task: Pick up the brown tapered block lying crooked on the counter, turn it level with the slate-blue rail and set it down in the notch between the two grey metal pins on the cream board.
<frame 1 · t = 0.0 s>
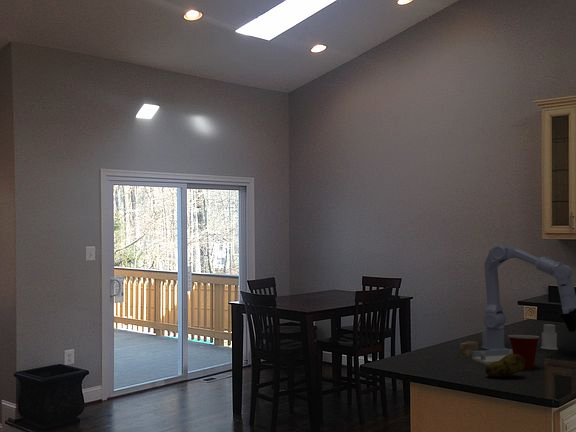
hand: (574, 330, 249), 11 cm above the kitchen counter, tool pointing down, fingers open, 7 cm apart
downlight: (549, 349, 268), on the kitchen counter
board: (500, 360, 246), on the kitchen counter
plastic cup: (524, 368, 231), on the kitchen counter
brown tapered block: (469, 356, 255), on the kitchen counter
potato: (505, 377, 218), on the kitchen counter
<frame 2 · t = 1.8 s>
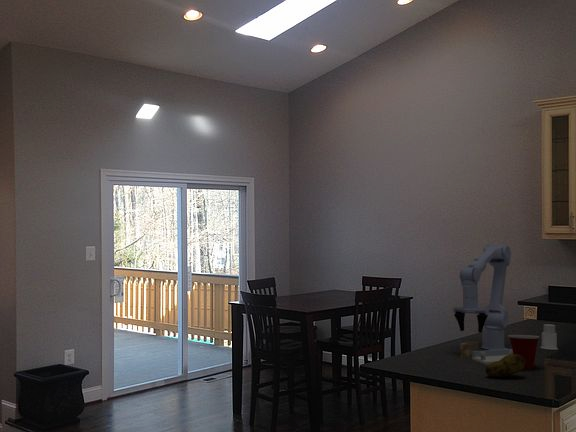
hand: (471, 331, 254), 10 cm above the kitchen counter, tool pointing down, fingers open, 7 cm apart
nothing on the kitchen counter moved.
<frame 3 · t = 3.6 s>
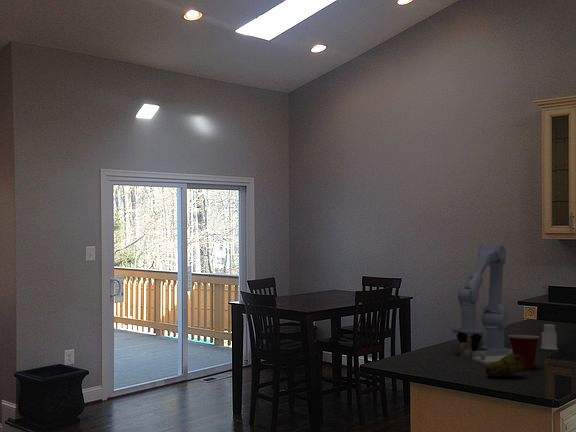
hand: (469, 352, 255), 1 cm above the kitchen counter, tool pointing down, fingers closed on brown tapered block, 4 cm apart
brown tapered block: (469, 356, 255), on the kitchen counter, touching gripper
everything else where it was.
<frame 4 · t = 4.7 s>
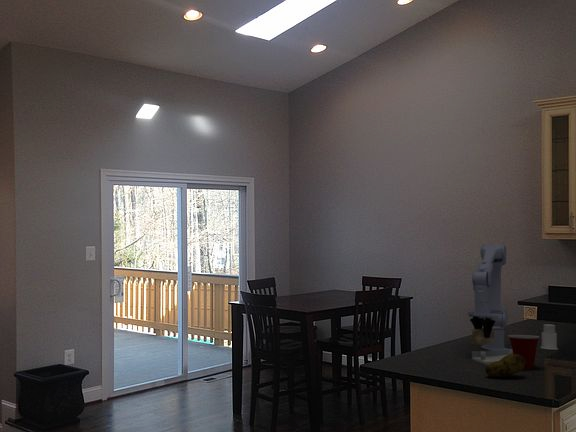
hand: (483, 337, 250), 8 cm above the kitchen counter, tool pointing down, fingers closed on brown tapered block, 4 cm apart
brown tapered block: (483, 343, 250), point 6 cm above the kitchen counter, touching gripper
everything else where it was.
when the fingers open (4 cm above the kitchen counter, at t = 6.3 s): brown tapered block stays where it is, resting on board.
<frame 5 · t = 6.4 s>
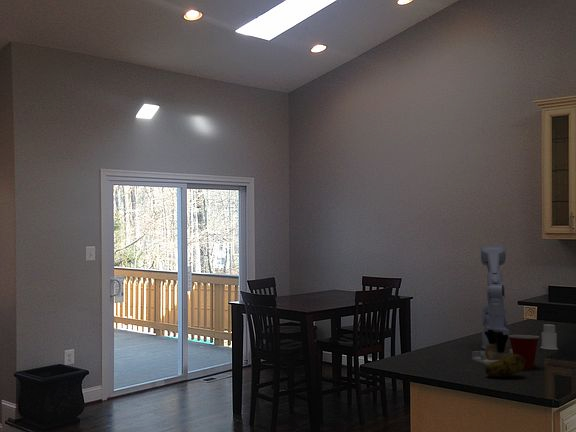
hand: (497, 351, 244), 4 cm above the kitchen counter, tool pointing down, fingers open, 5 cm apart
brown tapered block: (497, 358, 244), point 1 cm above the kitchen counter, touching board
everything else where it was.
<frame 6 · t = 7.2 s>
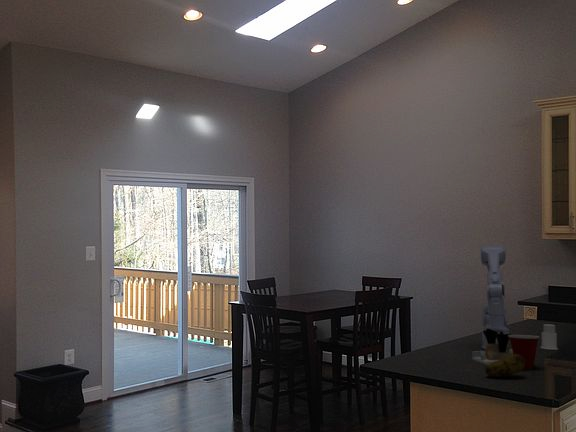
hand: (497, 350, 244), 4 cm above the kitchen counter, tool pointing down, fingers open, 7 cm apart
nothing on the kitchen counter moved.
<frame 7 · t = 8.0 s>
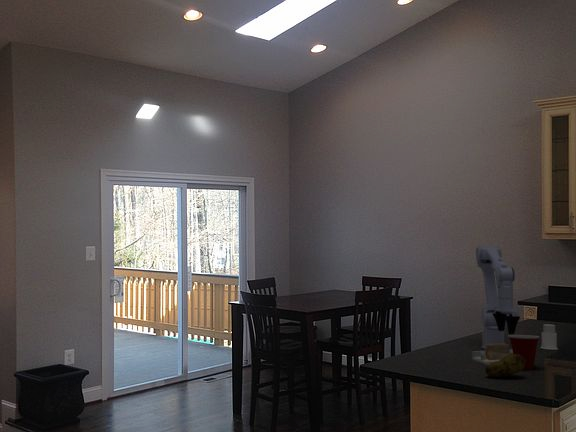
hand: (506, 332, 252), 10 cm above the kitchen counter, tool pointing down, fingers open, 7 cm apart
nothing on the kitchen counter moved.
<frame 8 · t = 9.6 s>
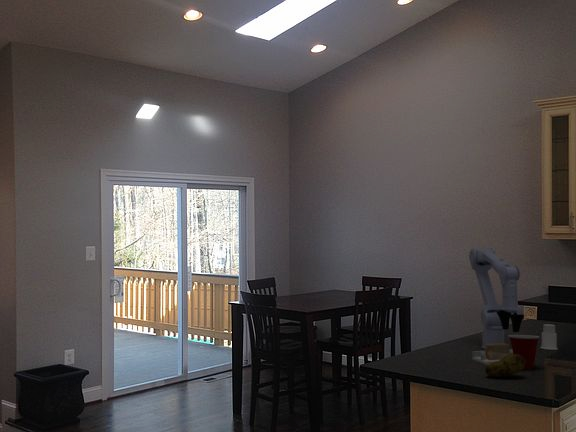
hand: (510, 330, 255), 10 cm above the kitchen counter, tool pointing down, fingers open, 7 cm apart
nothing on the kitchen counter moved.
at the end: brown tapered block 0.1 cm from the target spot on the board, point 1.0 cm above the board's base; brown tapered block tilted 0°; the gripper is holding nothing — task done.
